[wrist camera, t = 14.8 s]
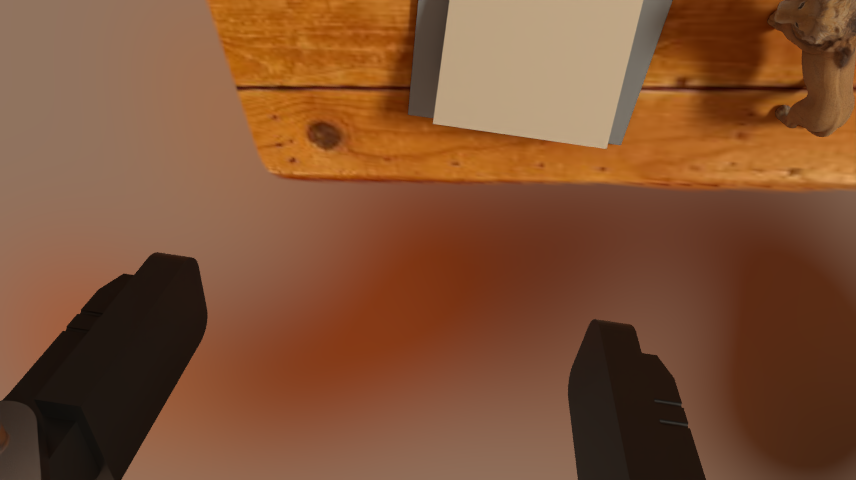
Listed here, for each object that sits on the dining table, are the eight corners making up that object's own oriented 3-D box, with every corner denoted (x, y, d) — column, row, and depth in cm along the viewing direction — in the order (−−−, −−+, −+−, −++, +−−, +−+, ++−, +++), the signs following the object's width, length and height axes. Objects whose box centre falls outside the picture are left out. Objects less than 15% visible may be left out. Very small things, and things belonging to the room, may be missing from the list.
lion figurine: (735, -22, 41) (785, 12, 34) (816, -63, 39) (888, -37, 32) (779, 138, 48) (829, 194, 40) (850, 110, 46) (915, 163, 38)
